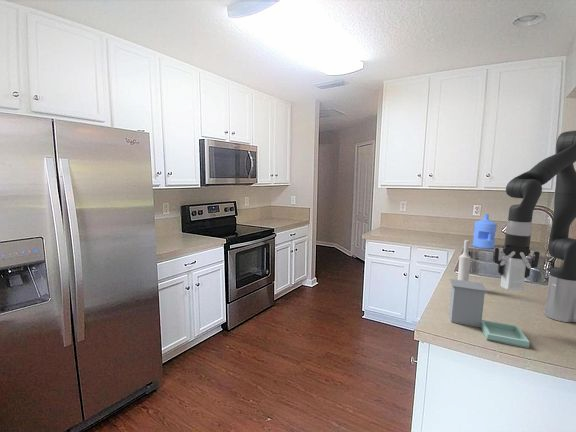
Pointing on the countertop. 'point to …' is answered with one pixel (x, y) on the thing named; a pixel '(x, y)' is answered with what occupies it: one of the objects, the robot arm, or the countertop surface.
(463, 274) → the bottle
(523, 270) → the skincare box
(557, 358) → the countertop surface
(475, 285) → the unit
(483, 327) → the tray
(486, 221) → the water jug
